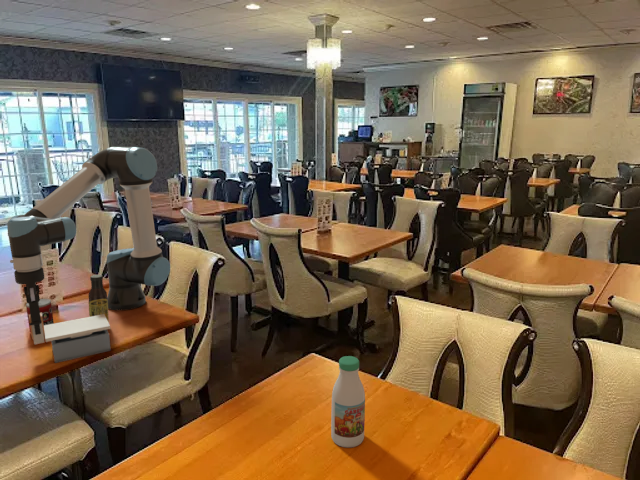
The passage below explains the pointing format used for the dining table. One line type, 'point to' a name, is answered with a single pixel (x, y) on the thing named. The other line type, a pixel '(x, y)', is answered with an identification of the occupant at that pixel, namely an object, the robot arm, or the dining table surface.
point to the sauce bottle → (98, 297)
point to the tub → (81, 346)
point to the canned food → (43, 311)
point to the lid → (73, 327)
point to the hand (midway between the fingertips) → (39, 340)
